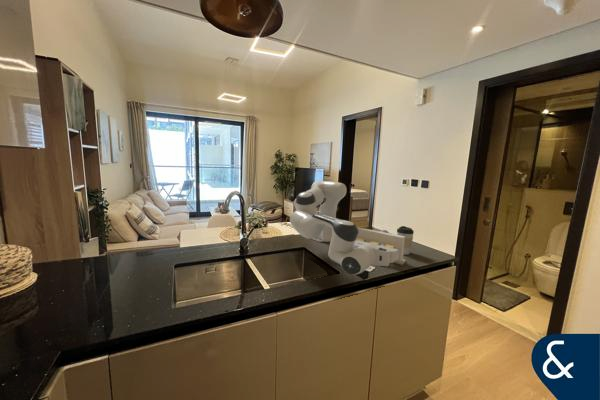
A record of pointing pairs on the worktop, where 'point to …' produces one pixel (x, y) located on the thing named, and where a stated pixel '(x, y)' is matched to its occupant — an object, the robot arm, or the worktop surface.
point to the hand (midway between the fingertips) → (380, 245)
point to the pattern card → (370, 269)
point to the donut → (384, 232)
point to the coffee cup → (406, 238)
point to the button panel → (384, 240)
